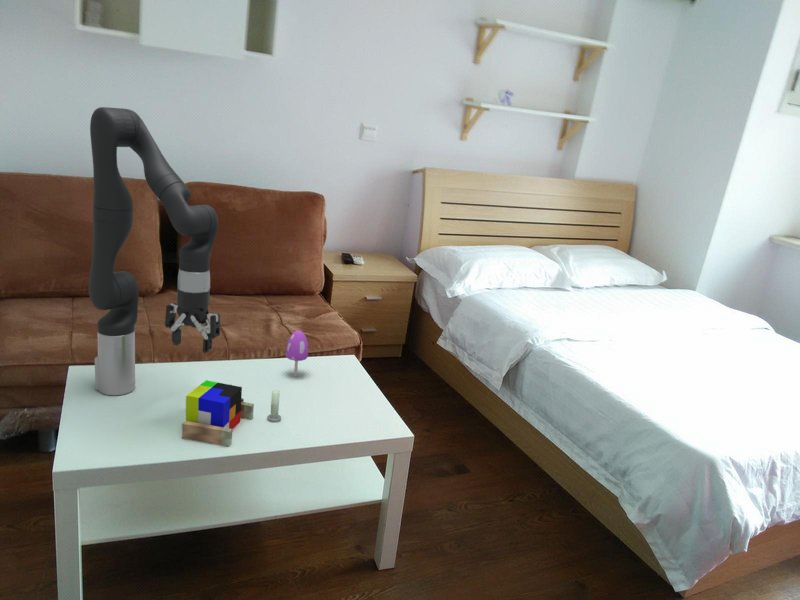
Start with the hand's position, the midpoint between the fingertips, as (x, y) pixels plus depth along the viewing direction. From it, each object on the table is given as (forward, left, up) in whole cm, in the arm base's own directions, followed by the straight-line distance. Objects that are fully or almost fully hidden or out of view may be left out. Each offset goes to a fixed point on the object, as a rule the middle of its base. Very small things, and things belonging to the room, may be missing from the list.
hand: (191, 348), depth 157 cm
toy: (+17, +36, -20) cm, 44 cm away
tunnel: (+9, 0, -19) cm, 21 cm away
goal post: (+20, +7, -19) cm, 29 cm away
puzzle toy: (+7, -2, -20) cm, 21 cm away
